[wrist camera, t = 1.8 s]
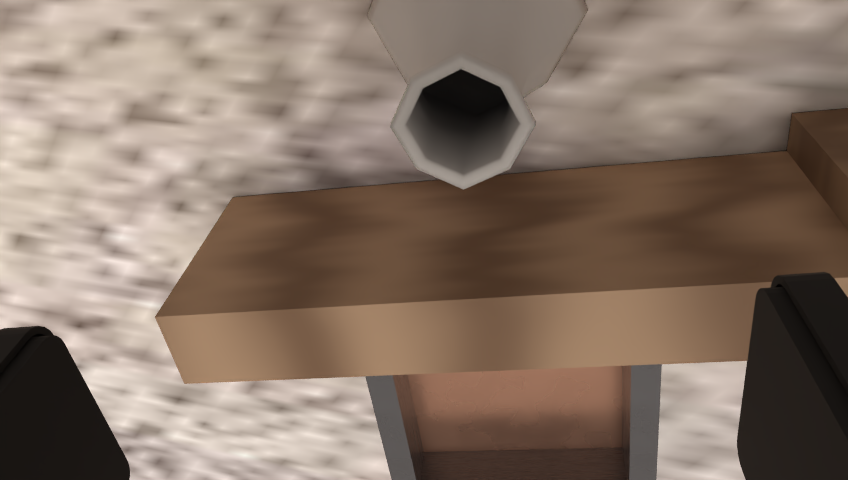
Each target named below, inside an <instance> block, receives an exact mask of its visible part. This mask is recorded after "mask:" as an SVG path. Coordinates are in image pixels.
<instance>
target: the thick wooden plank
mask: <svg viewBox="0 0 848 480" xmlns="http://www.w3.org/2000/svg"><path fill="white" fill-rule="evenodd" d="M816 272H827V273H830V274H831V275H832V277H833V278H834V279H835V280H836V281H837V283H838V284H839V286H840V287H841V289H842V290H843V291H844V293H845V294H846V296H847V297H848V108H845V109H834V110H823V111H813V112H802V113H792V116H791V124H790V131H789V138H788V145H787V151H777V152H765V153H753V154H742V155H730V156H718V157H706V158H694V159H682V160H670V161H658V162H646V163H635V164H623V165H611V166H599V167H587V168H575V169H563V170H551V171H539V172H528V173H516V174H504V175H495V176H493V177H491V178H489V179H486V180H484V181H482V182H480V183H477V184H475V185H473V186H471V187H468V188H466V189H464V190H463V189H461V188H459V187H456V186H454V185H452V184H449V183H447V182H445V181H443V180H432V181H421V182H409V183H397V184H385V185H373V186H361V187H349V188H337V189H325V190H314V191H302V192H290V193H278V194H266V195H254V196H242V197H233V198H232V199H231V201H230V202H229V204H228V206H227V207H226V209H225V210H224V212H223V213H222V215H221V216H220V218H219V219H218V221H217V222H216V224H215V226H214V227H213V229H212V230H211V232H210V233H209V235H208V236H207V238H206V239H205V241H204V242H203V244H202V246H201V247H200V249H199V250H198V252H197V253H196V255H195V256H194V258H193V259H192V261H191V262H190V264H189V266H188V267H187V269H186V270H185V272H184V273H183V275H182V276H181V278H180V279H179V281H178V282H177V284H176V285H175V287H174V289H173V290H172V292H171V293H170V295H169V296H168V298H167V299H166V301H165V302H164V304H163V305H162V307H161V309H160V310H159V312H158V313H157V315H156V316H155V318H156V320H157V323H158V325H159V327H160V329H161V332H162V334H163V336H164V339H165V341H166V343H167V345H168V348H169V350H170V352H171V354H172V357H173V359H174V361H175V363H176V366H177V368H178V370H179V372H180V375H181V377H182V379H183V382H184V384H187V383H212V382H236V381H261V380H285V379H310V378H334V377H359V376H383V375H408V374H432V373H456V372H481V371H505V370H530V369H554V368H579V367H603V366H628V365H652V364H677V363H701V362H726V361H747V360H748V352H749V344H750V336H751V329H752V321H753V313H754V306H755V298H756V294H757V291H758V290H759V289H760V288H770V287H771V283H772V281H773V279H774V277H775V276H777V275H787V274H801V273H816Z"/></svg>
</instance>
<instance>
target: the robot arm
mask: <svg viewBox="0 0 848 480" xmlns="http://www.w3.org/2000/svg"><path fill="white" fill-rule="evenodd" d="M737 448H738V456H739V461H740V465H741V468H742V471H743V473H744V476H745V479H746V480H848V297H847V296H846V294H845V293H844V291H843V290H842V289H841V287H840V286H839V284H838V283H837V281H836V280H835V279H834V278H833V277H832V275H831V274H830V273H827V272H816V273H801V274H787V275H777V276H775V277H774V279H773V281H772V283H771V287H770V288H760V289H759V290H758V291H757V294H756V298H755V306H754V313H753V321H752V329H751V336H750V344H749V352H748V360H747V367H746V375H745V383H744V390H743V398H742V406H741V413H740V421H739V429H738V436H737ZM129 478H130V468H129V464H128V461H127V459H126V457H125V455H124V453H123V451H122V450H121V448H120V446H119V444H118V442H117V440H116V438H115V437H114V435H113V433H112V431H111V429H110V427H109V425H108V424H107V422H106V420H105V418H104V416H103V414H102V412H101V411H100V409H99V407H98V405H97V403H96V401H95V399H94V397H93V396H92V394H91V392H90V390H89V388H88V386H87V384H86V383H85V381H84V379H83V377H82V375H81V373H80V371H79V370H78V368H77V366H76V364H75V362H74V360H73V358H72V357H71V355H70V353H69V351H68V349H67V347H66V345H65V344H64V342H63V341H62V339H61V338H59V337H58V336H54V335H53V334H52V332H51V331H50V330H49V329H47V328H45V327H41V326H32V327H18V328H4V329H1V330H0V480H129Z"/></svg>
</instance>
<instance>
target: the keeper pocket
mask: <svg viewBox="0 0 848 480" xmlns="http://www.w3.org/2000/svg"><path fill="white" fill-rule="evenodd" d="M661 366H662V364H652V365H628V366H603V367H579V368H554V369H530V370H505V371H481V372H456V373H432V374H408V375H383V376H366V380H367V384H368V388H369V392H370V396H371V400H372V404H373V408H374V412H375V416H376V420H377V423H378V427H379V431H380V435H381V439H382V443H383V447H384V451H385V455H386V459H387V463H388V467H389V471H390V475H391V479H392V480H656V473H657V452H658V430H659V409H660V387H661Z"/></svg>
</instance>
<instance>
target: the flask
mask: <svg viewBox="0 0 848 480" xmlns="http://www.w3.org/2000/svg"><path fill="white" fill-rule="evenodd" d="M587 11H588V8H587V6H586V4H585V1H584V0H373V1H372V4H371V6H370V9H369V12H368V14H367V17H368V18H369V20H370V22H371V23H372V25H373V27H374V28H375V30H376V32H377V33H378V35H379V37H380V39H381V40H382V42H383V44H384V45H385V47H386V49H387V50H388V52H389V54H390V56H391V57H392V59H393V61H394V62H395V64H396V66H397V67H398V69H399V71H400V73H401V74H402V76H403V78H404V79H405V81H406V83H407V84H408V86H407V88H406V90H405V93H404V95H403V97H402V99H401V102H400V104H399V106H398V108H397V111H396V113H395V115H394V117H393V120H392V122H391V126H390V127H391V128H392V130H393V132H394V133H395V135H396V137H397V138H398V140H399V141H400V143H401V145H402V146H403V148H404V149H405V151H406V153H407V154H408V156H409V158H410V159H411V161H412V162H413V164H414V166H415V167H416V169H417V170H420V171H422V172H424V173H426V174H429V175H431V176H433V177H436V178H438V179H440V180H443V181H445V182H447V183H449V184H452V185H454V186H456V187H459V188H461V189H463V190H464V189H466V188H468V187H471V186H473V185H475V184H477V183H480V182H482V181H484V180H486V179H489V178H491V177H493V176H495V175H498V174H500V173H502V172H504V171H507V170H509V169H510V168H511V167H512V165H513V163H514V161H515V160H516V158H517V156H518V154H519V153H520V151H521V149H522V148H523V146H524V144H525V142H526V141H527V139H528V137H529V135H530V134H531V132H532V130H533V128H534V127H535V123H536V121H535V119H534V117H533V115H532V113H531V111H530V109H529V107H528V105H527V103H526V102H525V100H524V97H525V96H526V95H528V94H529V93H531V92H533V91H534V90H536V89H538V88H539V87H541V86H543V85H544V84H545V83H547V81H548V80H549V78H550V76H551V74H552V73H553V71H554V69H555V67H556V66H557V64H558V62H559V60H560V58H561V57H562V55H563V53H564V51H565V50H566V48H567V46H568V44H569V43H570V41H571V39H572V37H573V36H574V34H575V32H576V30H577V28H578V27H579V25H580V23H581V21H582V20H583V18H584V16H585V14H586V13H587Z"/></svg>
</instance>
